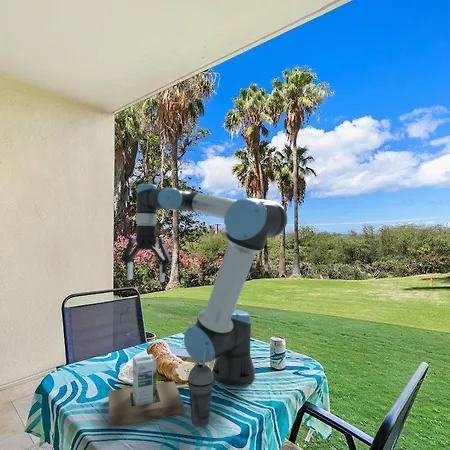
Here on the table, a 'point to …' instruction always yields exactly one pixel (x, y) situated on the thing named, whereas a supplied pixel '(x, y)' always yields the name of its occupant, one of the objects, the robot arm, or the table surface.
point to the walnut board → (127, 414)
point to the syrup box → (144, 380)
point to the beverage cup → (200, 393)
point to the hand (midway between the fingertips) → (145, 280)
